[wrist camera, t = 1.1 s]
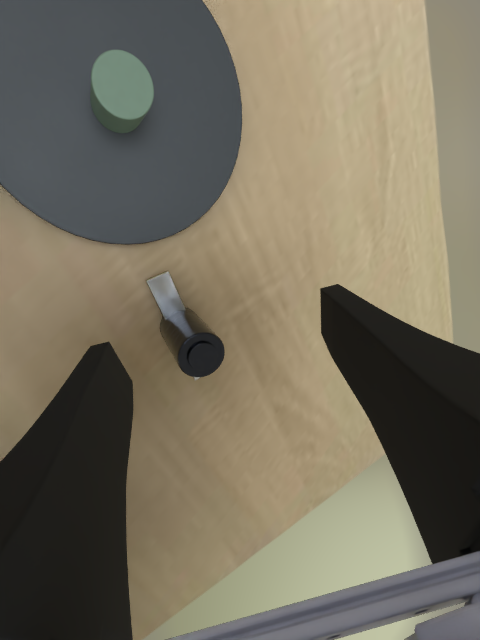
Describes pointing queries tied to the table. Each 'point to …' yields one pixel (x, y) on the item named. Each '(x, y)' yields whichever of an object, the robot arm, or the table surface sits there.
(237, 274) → the table surface
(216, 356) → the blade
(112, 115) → the bowl lid
